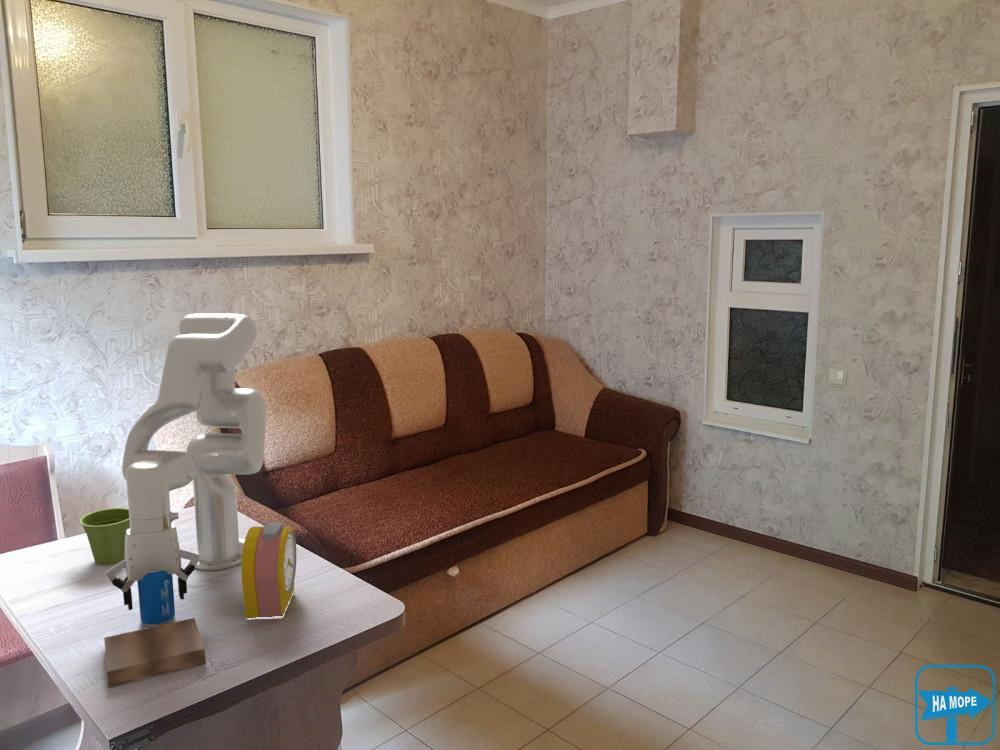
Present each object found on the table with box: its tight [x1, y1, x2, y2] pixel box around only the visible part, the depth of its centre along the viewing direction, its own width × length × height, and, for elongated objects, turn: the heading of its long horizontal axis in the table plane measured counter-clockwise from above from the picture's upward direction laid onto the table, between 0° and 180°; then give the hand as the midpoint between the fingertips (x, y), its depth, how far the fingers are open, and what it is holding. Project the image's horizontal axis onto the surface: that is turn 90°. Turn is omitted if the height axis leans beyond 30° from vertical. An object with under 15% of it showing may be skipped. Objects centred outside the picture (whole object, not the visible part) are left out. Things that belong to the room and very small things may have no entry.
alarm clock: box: [240, 521, 297, 619], centre depth 161 cm, size 15×8×18 cm, turn 4°
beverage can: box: [137, 569, 176, 627], centre depth 155 cm, size 6×6×12 cm
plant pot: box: [79, 507, 130, 567], centre depth 183 cm, size 12×12×11 cm
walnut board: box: [103, 617, 206, 688], centre depth 142 cm, size 16×13×3 cm
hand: (156, 602), depth 155 cm, fingers open, 9 cm apart
